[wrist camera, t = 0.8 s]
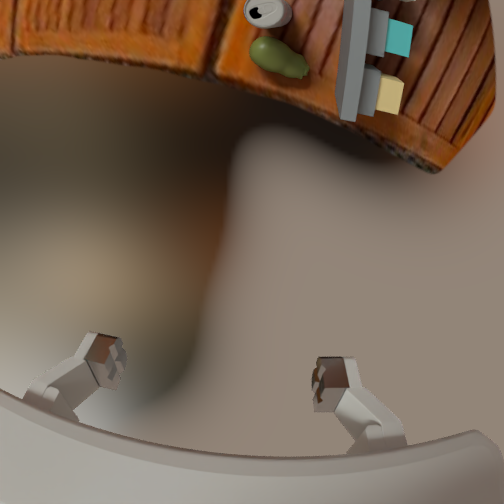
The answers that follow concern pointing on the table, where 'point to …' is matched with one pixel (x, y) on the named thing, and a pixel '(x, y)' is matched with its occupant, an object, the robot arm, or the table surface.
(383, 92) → the button mustard
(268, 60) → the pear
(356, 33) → the control panel
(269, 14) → the energy drink
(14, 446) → the robot arm
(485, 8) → the table surface
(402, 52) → the button teal
